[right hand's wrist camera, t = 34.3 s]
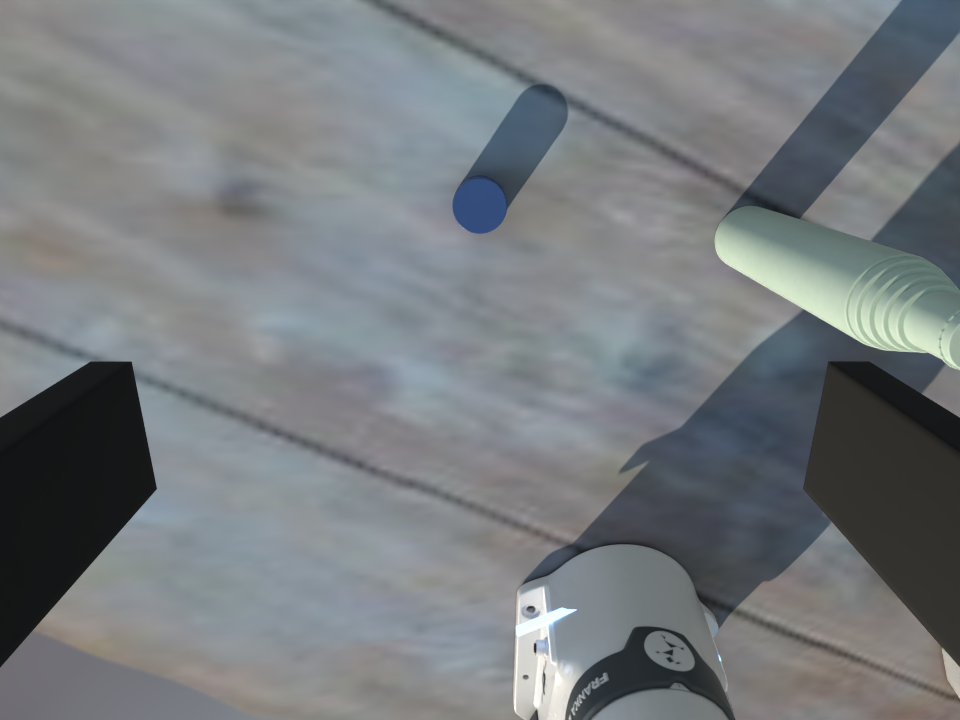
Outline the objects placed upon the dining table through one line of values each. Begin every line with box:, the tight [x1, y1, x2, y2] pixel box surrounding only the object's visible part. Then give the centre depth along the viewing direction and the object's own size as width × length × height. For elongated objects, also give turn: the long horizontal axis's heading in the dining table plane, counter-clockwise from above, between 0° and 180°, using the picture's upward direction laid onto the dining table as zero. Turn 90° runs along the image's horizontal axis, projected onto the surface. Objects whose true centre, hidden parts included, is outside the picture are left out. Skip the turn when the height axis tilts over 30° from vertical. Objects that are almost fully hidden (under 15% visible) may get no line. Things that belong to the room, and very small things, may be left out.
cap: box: [453, 176, 507, 234], centre depth 46 cm, size 4×4×2 cm
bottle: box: [715, 206, 960, 370], centre depth 37 cm, size 5×5×24 cm
